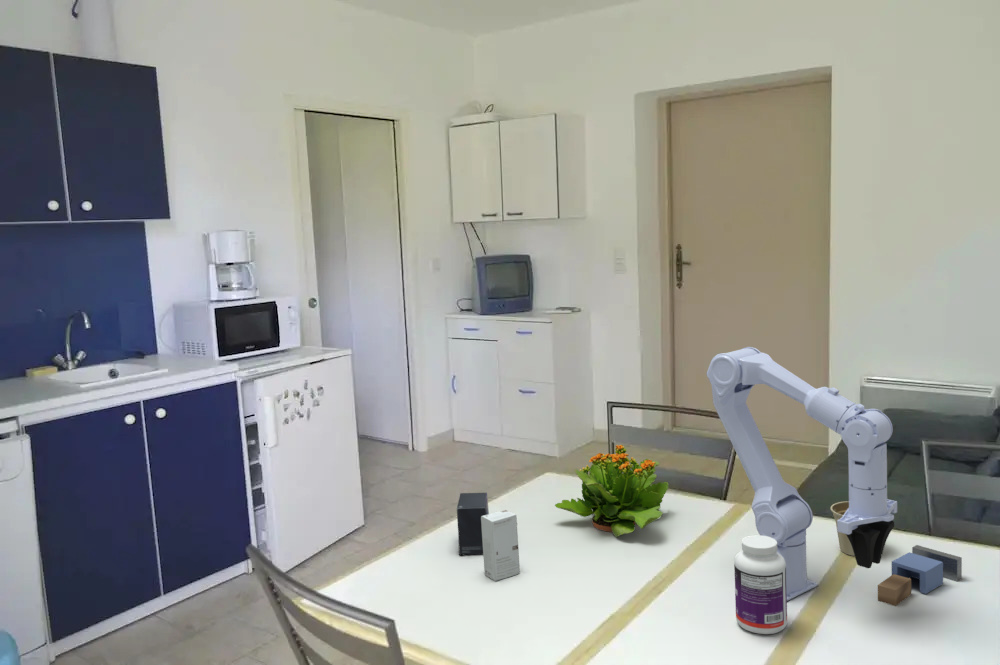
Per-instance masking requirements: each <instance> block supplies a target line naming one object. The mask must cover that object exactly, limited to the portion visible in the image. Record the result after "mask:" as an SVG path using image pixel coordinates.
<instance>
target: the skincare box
mask: <svg viewBox="0 0 1000 665" xmlns="http://www.w3.org/2000/svg"><path fill="white" fill-rule="evenodd" d="M481 525H482V542H483V554H482V555H483V569H484V570H483V571H484V572H483V573H484V576H486V577H488V578H489V577H490V578H489V579H491V580H492V579H493V580H492V581H494V582H496V581H501V580H503V579H507V578H510V577H513V576H516V575H519V574H520V573H521V570H520V569H521V568H520V567H521V566H520V552H519V551H520V550H519V549H520V548H519V535H518V520H517V514H516V513H514V512H511V511H509V510H507V509H504V510H499V511H495V512H491V513H489V514H488V515H484V516H481Z"/></svg>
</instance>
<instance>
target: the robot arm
mask: <svg viewBox="0 0 1000 665" xmlns="http://www.w3.org/2000/svg"><path fill="white" fill-rule="evenodd" d="M706 376H707V378H708V380H709V383H710V384H711V394H712V403H713V406H714V409H715V410H716V413H717V416H718V418H719V420H720V421H721V424H722V425H723V428H724V430H725V431H726V434H727V436H728V438H729V440H730V442H731V444H732V447H733V448H734V451H735V452H736V456H737V457H738V459H739V461H740V463H741V465H742V468H743V470H744V472H745V474H746V476H747V478H748V480H749V483H750V485H751V487H752V490H753V491H754V497H753V500H752V503H751V510H752V512H753V514H754V519H755V520H754V521H755V529H756V531H757V532H758V535H762V536H768V537H771V538H773V539H775V540H776V541H777V553H779V554H780V555H781V556H782V557H783V558H784V560H785V562H786V595H787V601H790V600H792V599H794V598H796V597H798V596H799V595H802V594H804V593H805V592H808V591H809V590H812V589H813V588H815V587H817V586H818V582H816V581H813V580H810V579H808V578H807V577H808V576H807V574H808V573H807V571H808V570H807V566H808V565H807V529H809V528H810V527H811V525H812V523H813V518H814V515H813V511H812V509H811V506H810V505H809V503H808V502H807V501H805V499H803V497H802V496H801V494H799V492H798V490H797V488H796V487H795V486H793V485H791V484H789V483H788V482H785V480H784V478H783V477H782V475H781V472H780V471H779V470H780V469H779V468H778V466H777V464H776V462H775V460H774V458H773V456H772V454H771V452H770V450H769V447H768V446H767V443H766V441H765V440H764V437H763V435H762V433H761V432H760V429H759V427H758V426H757V423H756V421H755V419H754V417H753V415H752V413H751V411H750V409H749V406H748V405H747V400H748V398H749V395H750V393H751V390H752V389H753V388H754V386H755V385H765V386H768V387H769V388H772V389H773V390H775V391H777V392H779V393H781V394H783V395H785V396H786V397H788V398H790V399H792V400H794V401H796V402H798V403H800V404H801V405H803V406H804V408H805V413H806V415H807V416H808V417H810V418H812V419H813V420H815V421H817V422H819V423H821V424H822V425H824V426H825V427H827V428H829V429H830V430H831V431H833V432H835V433H836V434H839V435H840V437H841V439H842V441H843V443H844V444H845V446H846V447H847V450H848V451H847V452H848V454H847V456H848V458H847V459H848V501H849V508H848V509H847V511H846V512H845V513H844V515H843V516H842V518H840V519H839V520H837V527H836V531H838V532H841V533H844V534H846V535H847V537H848V539H849V541H850V543H851V545H852V548H853V551H854V555H855V556H854V558H855V561H856V565H857V566H859V567H862V568H865V569H871V568H872V566H873V564H877V565H878V564H880V563H881V560H882V556H883V553H884V549H885V545H886V542H887V540H888V538H889V535H890V534H891V531H892V530H893V529H894V527H895V521H894V519H895V514H897V513H898V501H897V500H892V499H889V498H888V457H887V455H888V454H887V452H888V450H887V444H888V443H886V442H888V441H889V439H891V437H892V435H893V431H894V430H893V424H892V421H891V419H890V418H889V417H888V416H887V415H886V414H885V413H884V412H883V411H882V410H881V409H877V408H865V405H864V404H862V403H856V402H853V400H850V399H848V398H846V396H843V395H841V394H839V392H840V390H839V389H837V388H836V387H834V386H832V387H827V386H820V387H818V388H815V387H814V386H812V385H811V384H809V383H808V382H806V381H805V380H803V379H802V378H800V377H799V376H797V375H795V373H793V372H791V371H789V370H788V369H787V368H785V367H783V366H782V365H780V364H779V363H777V362H776V361H774V360H773V358H772V357H771V356H770V355H769V354H768V353H766V352H761V351H760V350H759V349H758V348H756V347H752V346H746V347H743V348H741V349H736V350H733V351H729V352H724V353H723V352H722V353H718V354H716V355H715V356H713V358H712V359H711V361H710V363H709V365H708V368H707V372H706Z"/></svg>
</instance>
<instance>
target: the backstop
mask: <svg viewBox="0 0 1000 665" xmlns="http://www.w3.org/2000/svg"><path fill="white" fill-rule="evenodd" d="M911 550H912V551H911V553H913V554H917V555H920V556H924V557H927V558H931V559H934V560H938V561H941V562H943V579H948V580H951V581H955V582H959V581H961V580H962V577H963V576H962V571H963V570H962V569H963V567H962V566H963V563H962V562H963V561H962V559H963V558H962V557H960V556H958V555H954V554H950V553H947V552H944V551H943V552H942V551H940V550H936V549H932V548H929V547H926V546H922V545H919V544H916V545H913V547H912V548H911Z"/></svg>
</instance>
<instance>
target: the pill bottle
mask: <svg viewBox="0 0 1000 665" xmlns="http://www.w3.org/2000/svg"><path fill="white" fill-rule="evenodd" d="M733 560H734V562H733V567H734V593H735V594H734V596H735V600H734V602H735V618H736V621H737V624H738V625H739V626H740V627H741V628H742V629H744V630H746V631H747V632H750V633H754V634H759V635H774V634H777V633H779V632H782V630H784V629H785V628H786V626H787V625H788V603H787V595H786V562H785V560H784V558H783V557H782V556H781V555H780V554H779V553H777V541H776V540H775V539H773V538H771V537H768V536H762V535H760V534H753V535H747V536H745V537H743V538H742V539H741V550H740V551H739V552H737V554H736V555H735V556H734V559H733Z"/></svg>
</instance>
